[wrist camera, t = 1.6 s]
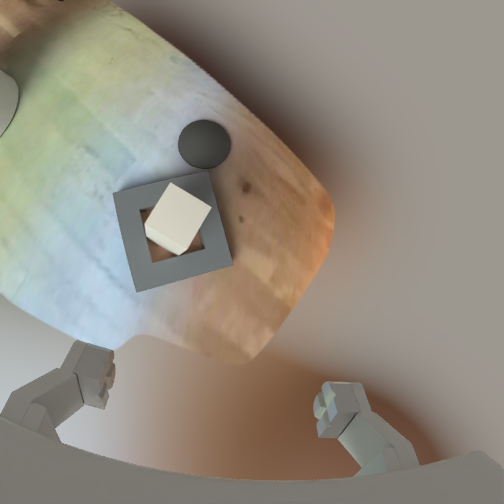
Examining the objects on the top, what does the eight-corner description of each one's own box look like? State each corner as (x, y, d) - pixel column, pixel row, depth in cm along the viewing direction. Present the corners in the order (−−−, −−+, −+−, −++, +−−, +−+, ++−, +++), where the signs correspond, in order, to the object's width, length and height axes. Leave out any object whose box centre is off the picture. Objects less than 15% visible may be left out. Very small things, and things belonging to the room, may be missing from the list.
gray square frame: (137, 291, 37) (136, 292, 35) (114, 197, 37) (112, 193, 35) (228, 265, 41) (233, 265, 39) (204, 176, 41) (207, 170, 38)
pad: (184, 173, 40) (184, 172, 39) (173, 126, 40) (173, 124, 39) (234, 163, 42) (235, 162, 42) (222, 118, 42) (223, 117, 42)
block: (177, 256, 39) (187, 249, 28) (146, 237, 38) (144, 223, 27) (195, 225, 40) (211, 207, 29) (164, 207, 39) (170, 182, 28)
